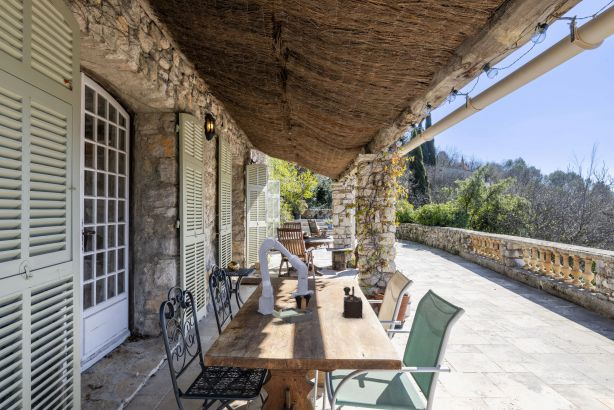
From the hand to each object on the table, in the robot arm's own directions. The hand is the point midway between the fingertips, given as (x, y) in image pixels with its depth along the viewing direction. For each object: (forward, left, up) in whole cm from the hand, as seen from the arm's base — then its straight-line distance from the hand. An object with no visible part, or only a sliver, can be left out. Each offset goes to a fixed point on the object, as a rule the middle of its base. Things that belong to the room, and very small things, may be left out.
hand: (302, 307), depth 208 cm
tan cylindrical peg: (0, 0, -2) cm, 2 cm away
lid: (+11, -18, +1) cm, 21 cm away
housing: (+7, -10, -2) cm, 12 cm away
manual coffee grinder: (+23, +19, -3) cm, 30 cm away
